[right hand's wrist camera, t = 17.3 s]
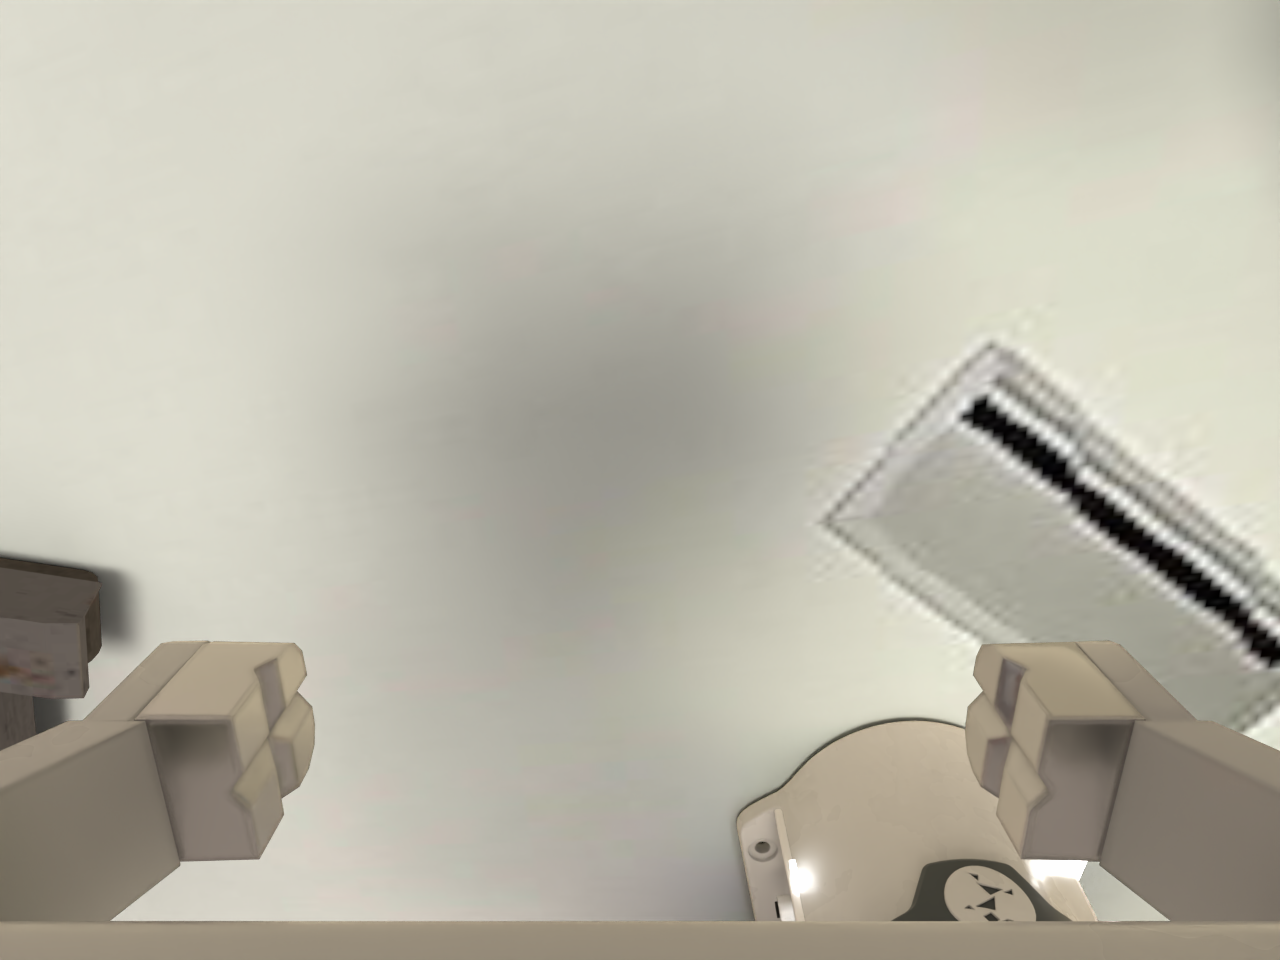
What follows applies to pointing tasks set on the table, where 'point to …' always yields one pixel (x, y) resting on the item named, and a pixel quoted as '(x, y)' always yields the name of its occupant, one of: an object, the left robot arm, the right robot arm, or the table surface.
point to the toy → (43, 639)
